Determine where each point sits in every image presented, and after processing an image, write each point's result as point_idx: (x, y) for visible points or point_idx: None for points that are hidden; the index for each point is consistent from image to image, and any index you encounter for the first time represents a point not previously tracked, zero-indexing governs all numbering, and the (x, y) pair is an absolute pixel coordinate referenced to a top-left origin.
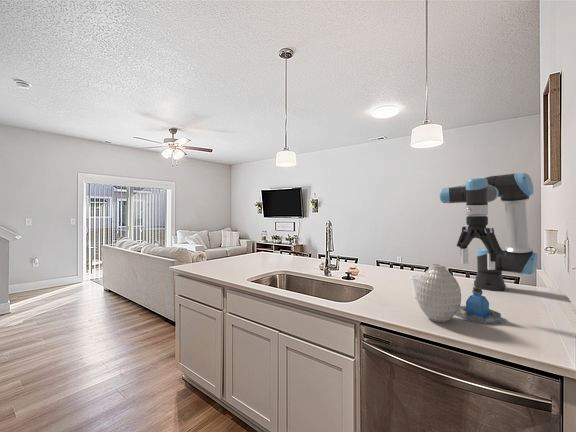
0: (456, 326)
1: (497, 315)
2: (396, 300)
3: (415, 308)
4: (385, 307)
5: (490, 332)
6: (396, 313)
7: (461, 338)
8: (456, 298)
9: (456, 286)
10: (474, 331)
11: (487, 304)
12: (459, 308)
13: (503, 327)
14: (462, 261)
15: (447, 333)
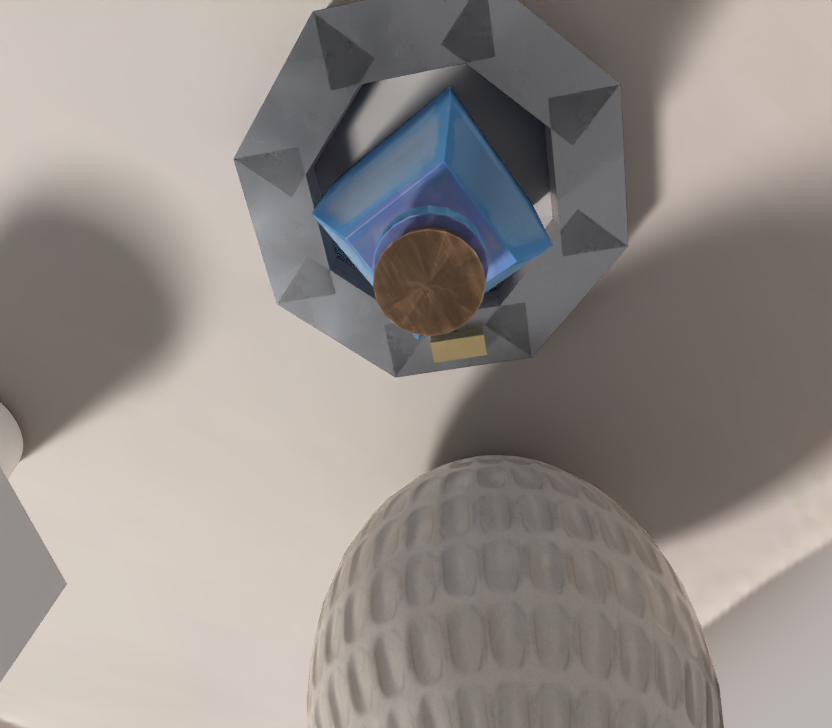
0: (630, 465)
1: (545, 62)
2: (89, 607)
3: (266, 557)
4: (270, 704)
5: (770, 305)
6: None
7: (810, 528)
8: (700, 625)
9: (704, 710)
10: (731, 401)
11: (477, 136)
12: (344, 315)
13: (701, 128)
14: (27, 629)
15: (727, 563)
